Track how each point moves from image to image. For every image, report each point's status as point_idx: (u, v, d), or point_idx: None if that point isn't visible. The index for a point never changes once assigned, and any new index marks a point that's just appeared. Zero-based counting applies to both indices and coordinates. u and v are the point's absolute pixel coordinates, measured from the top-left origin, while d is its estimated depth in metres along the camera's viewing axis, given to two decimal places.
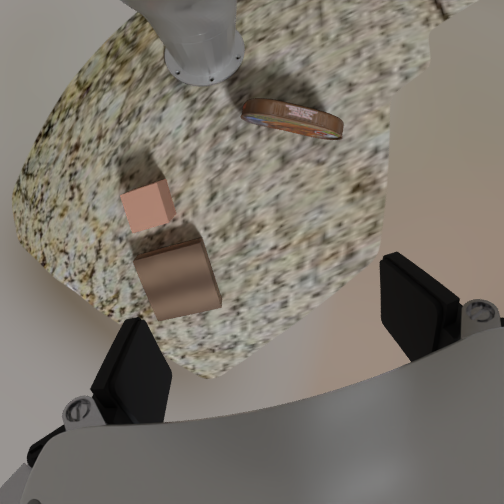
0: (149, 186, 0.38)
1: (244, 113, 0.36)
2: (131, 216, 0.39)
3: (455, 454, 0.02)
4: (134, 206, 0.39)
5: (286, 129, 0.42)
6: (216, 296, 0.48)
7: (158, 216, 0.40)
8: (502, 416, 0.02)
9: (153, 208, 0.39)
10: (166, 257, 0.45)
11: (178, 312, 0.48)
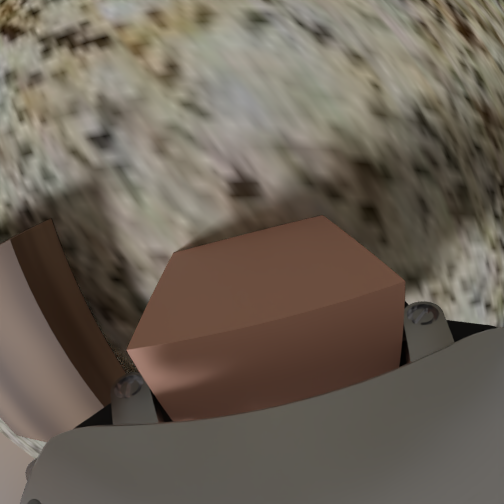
0: None
1: None
2: (247, 355, 0.06)
3: (455, 454, 0.02)
4: (311, 370, 0.06)
5: None
6: (31, 437, 0.11)
7: None
8: (502, 416, 0.02)
9: None
10: (65, 374, 0.09)
11: None
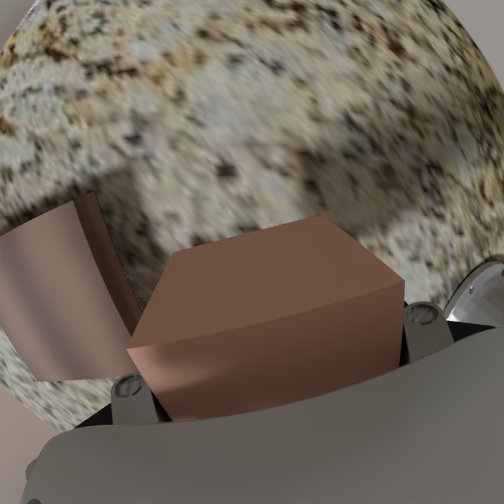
0: None
1: None
2: (247, 355, 0.06)
3: (455, 454, 0.02)
4: (310, 369, 0.06)
5: None
6: (52, 379, 0.17)
7: None
8: (502, 416, 0.02)
9: None
10: (99, 299, 0.15)
11: None
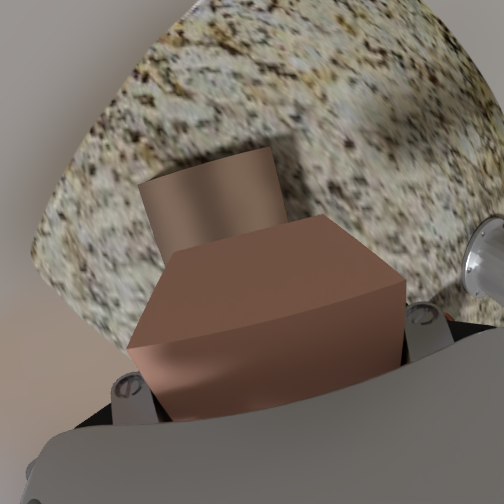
0: None
1: None
2: (248, 355, 0.06)
3: (455, 454, 0.02)
4: (312, 370, 0.06)
5: None
6: None
7: None
8: (502, 416, 0.02)
9: None
10: (276, 214, 0.25)
11: (161, 227, 0.25)
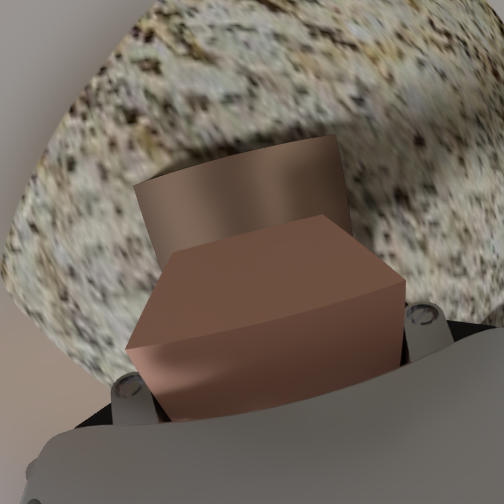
0: None
1: None
2: (247, 355, 0.06)
3: (455, 454, 0.02)
4: (311, 370, 0.06)
5: None
6: None
7: None
8: (502, 416, 0.02)
9: None
10: None
11: (169, 250, 0.17)
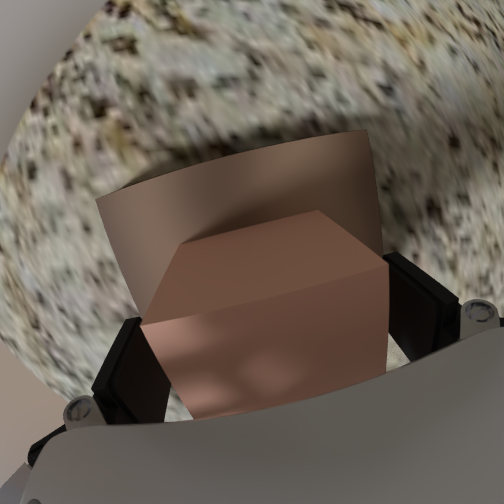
0: None
1: None
2: (248, 330, 0.06)
3: (455, 454, 0.02)
4: (306, 345, 0.07)
5: None
6: None
7: None
8: (502, 416, 0.02)
9: None
10: None
11: (145, 284, 0.12)
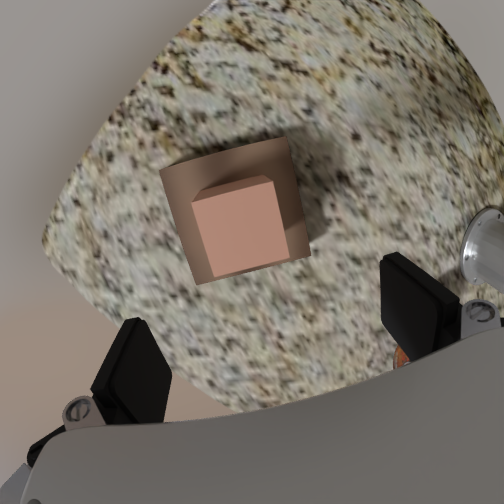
0: (284, 244, 0.22)
1: None
2: (226, 203, 0.20)
3: (455, 454, 0.02)
4: (246, 210, 0.20)
5: None
6: (217, 278, 0.29)
7: (225, 258, 0.22)
8: (502, 416, 0.02)
9: (242, 249, 0.21)
10: (291, 199, 0.27)
11: (181, 211, 0.26)
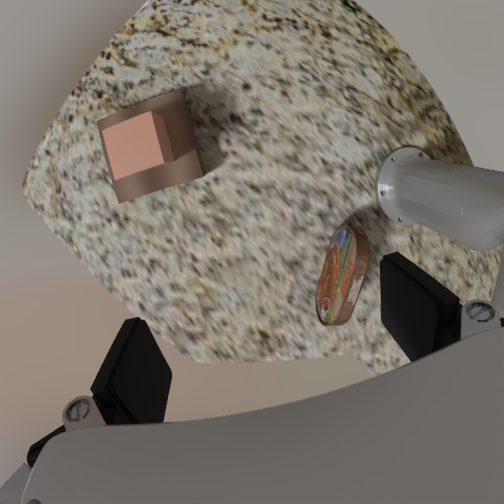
0: (159, 152, 0.28)
1: (354, 232, 0.36)
2: (122, 128, 0.26)
3: (455, 454, 0.02)
4: (134, 131, 0.27)
5: (325, 265, 0.43)
6: (133, 197, 0.35)
7: (121, 166, 0.28)
8: (502, 416, 0.02)
9: (132, 158, 0.28)
10: (184, 133, 0.33)
11: None
